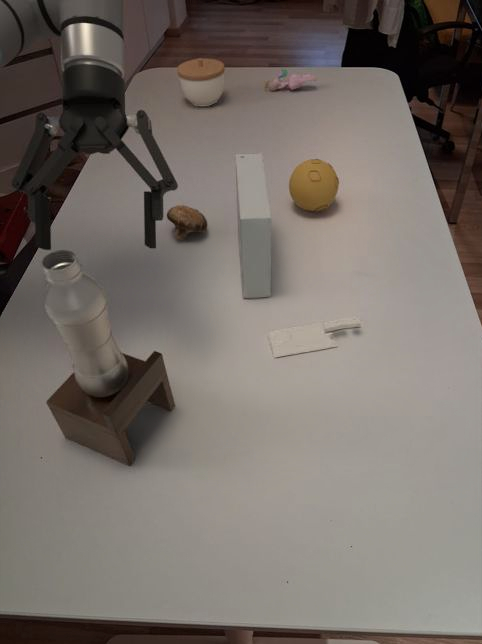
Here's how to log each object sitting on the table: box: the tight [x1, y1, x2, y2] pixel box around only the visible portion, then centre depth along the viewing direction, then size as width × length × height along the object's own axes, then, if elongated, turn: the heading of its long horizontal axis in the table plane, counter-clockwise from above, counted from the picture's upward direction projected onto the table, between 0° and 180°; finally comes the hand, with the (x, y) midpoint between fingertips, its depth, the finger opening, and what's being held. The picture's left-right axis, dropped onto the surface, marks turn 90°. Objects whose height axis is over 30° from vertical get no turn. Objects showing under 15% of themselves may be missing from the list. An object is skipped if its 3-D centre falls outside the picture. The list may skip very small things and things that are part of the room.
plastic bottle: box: [40, 249, 129, 397], centre depth 62 cm, size 6×7×20 cm
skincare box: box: [235, 153, 272, 299], centre depth 93 cm, size 21×6×16 cm, turn 4°
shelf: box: [45, 350, 176, 467], centre depth 71 cm, size 11×11×11 cm
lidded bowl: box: [176, 57, 226, 105], centre depth 145 cm, size 13×13×11 cm
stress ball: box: [288, 158, 340, 213], centre depth 107 cm, size 10×10×10 cm
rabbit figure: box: [263, 68, 318, 92], centre depth 151 cm, size 6×6×15 cm
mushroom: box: [166, 204, 208, 241], centre depth 104 cm, size 8×8×6 cm
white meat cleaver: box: [266, 316, 362, 359], centre depth 84 cm, size 5×15×1 cm, turn 101°
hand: (96, 247), depth 67 cm, fingers open, 13 cm apart
